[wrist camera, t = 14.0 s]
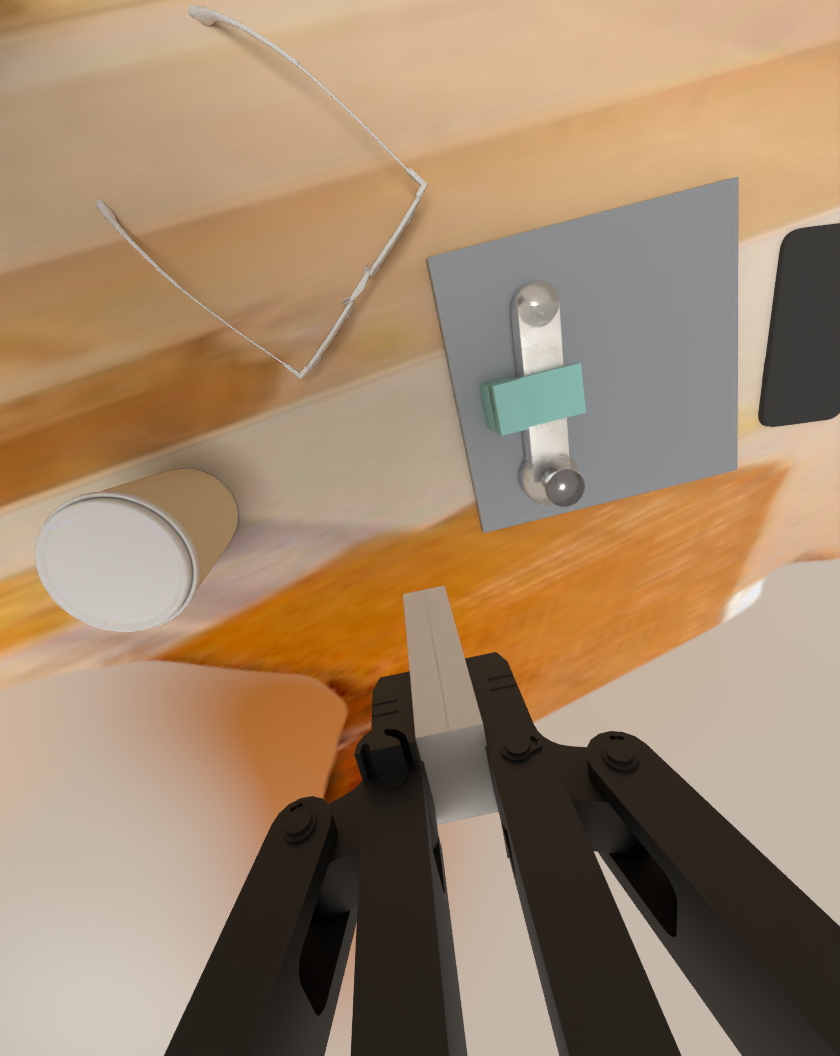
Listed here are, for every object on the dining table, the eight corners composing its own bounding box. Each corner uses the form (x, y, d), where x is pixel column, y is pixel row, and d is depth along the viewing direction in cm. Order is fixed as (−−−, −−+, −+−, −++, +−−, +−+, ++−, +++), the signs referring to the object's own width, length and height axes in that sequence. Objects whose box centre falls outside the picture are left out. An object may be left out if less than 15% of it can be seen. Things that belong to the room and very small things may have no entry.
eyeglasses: (310, 381, 36) (302, 382, 32) (92, 218, 32) (52, 197, 28) (426, 204, 33) (431, 182, 29) (200, -7, 28) (171, -65, 24)
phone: (879, 218, 34) (842, 417, 39) (868, 221, 35) (834, 416, 40) (785, 229, 34) (760, 428, 39) (776, 233, 35) (753, 427, 40)
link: (571, 494, 39) (596, 511, 34) (521, 503, 39) (539, 521, 34) (557, 280, 33) (585, 265, 29) (499, 291, 33) (517, 278, 29)
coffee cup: (142, 444, 36) (31, 476, 25) (258, 476, 38) (203, 521, 27) (129, 546, 39) (24, 617, 28) (238, 573, 41) (180, 650, 29)
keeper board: (426, 260, 33) (434, 237, 28) (728, 182, 33) (798, 143, 27) (481, 529, 41) (496, 554, 35) (729, 467, 40) (784, 482, 35)
